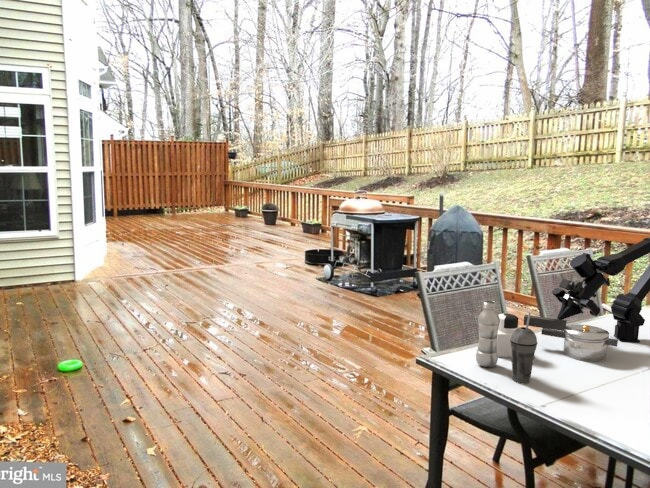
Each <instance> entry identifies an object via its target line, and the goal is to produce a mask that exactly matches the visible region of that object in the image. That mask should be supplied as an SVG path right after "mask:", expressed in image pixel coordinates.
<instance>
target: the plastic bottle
mask: <svg viewBox="0 0 650 488" xmlns="http://www.w3.org/2000/svg"><path fill="white" fill-rule="evenodd" d="M482 308H483V310H482V311H481V312H480V313H479V315H478V318H477V325H478V335H479V336H478V345H477V350H476V352H475V361H476V363H477V365H479V366H482V367H485V368H494V367H495V366H496V365H498V361H499V360H498V359H499V357H498V354H497V334H498V328H499V323H500V318H499V316H498V315H499V314H498V313H497V302H495V301H492V300H484V301H483V306H482Z"/></svg>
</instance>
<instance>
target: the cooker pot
mask: <svg viewBox="0 0 650 488" xmlns="http://www.w3.org/2000/svg"><path fill="white" fill-rule="evenodd" d="M540 335H541V336H550V337H555V338H561V339H563V350H562V351H563V355H565V356H566V357H568V358H571V359H574V360H578V361H582V362H588V363H589V362H590V363H600V362H604V361H605V360H606V358H607V350H608V348H607V347H608V346H613V347H615V348H617V346H618V343H619V342H618V341H619V340H618V339H617V338H608V339H606V340H600V341H593V340H584V339H579V338H575V337H572V336H569V335H567V334H566V333H565V332H564V331H560V330H553V329H546V328H541V334H540Z"/></svg>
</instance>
